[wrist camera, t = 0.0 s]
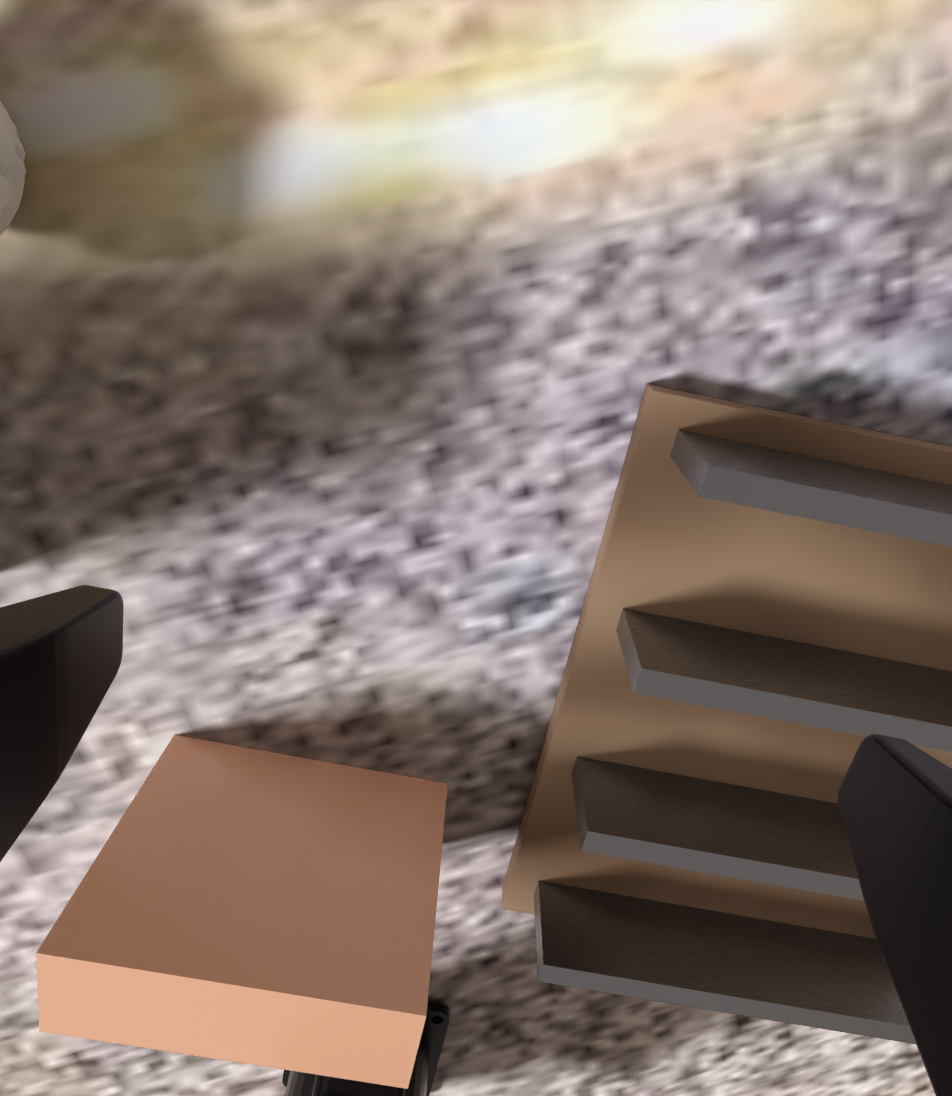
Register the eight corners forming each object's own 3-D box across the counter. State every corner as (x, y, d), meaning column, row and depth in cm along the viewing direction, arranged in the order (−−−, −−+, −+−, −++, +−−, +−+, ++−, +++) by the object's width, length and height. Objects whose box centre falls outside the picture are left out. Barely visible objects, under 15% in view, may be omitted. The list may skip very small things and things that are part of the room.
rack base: (893, 954, 31) (905, 977, 30) (502, 887, 30) (502, 908, 29) (1165, 491, 23) (1193, 502, 22) (646, 383, 22) (653, 390, 21)
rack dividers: (890, 957, 29) (938, 1048, 26) (533, 896, 29) (537, 981, 26) (1144, 524, 22) (1251, 575, 19) (678, 429, 22) (709, 465, 18)
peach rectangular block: (433, 844, 29) (407, 1088, 21) (171, 798, 29) (39, 1031, 21) (447, 782, 28) (426, 1016, 20) (175, 734, 28) (36, 952, 19)
